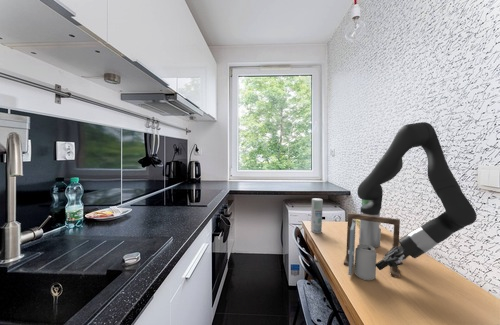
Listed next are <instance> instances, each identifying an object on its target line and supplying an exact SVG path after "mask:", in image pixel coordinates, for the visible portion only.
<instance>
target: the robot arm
mask: <svg viewBox="0 0 500 325" xmlns="http://www.w3.org/2000/svg"><path fill="white" fill-rule="evenodd" d="M417 147H421V149H423V150H424V152H425V154H426V157H427V170H426V171H427V178H428V181H429V183H430V185H431V187H432V189H433V191H434V192H435V194H436V195H437V197H438V198H439V200H440V202H441V204H442V206H443V209H444V210H445V211H443V212H442V213H441V214H440V215H438V216H436V217H435V218H432V219H431V220H429V221H427V222H425V223H423V225H421V226H419V227H417V228H415V229H414V230H412V231H410V232H408V233H406V234H405V235H404V236H403V237H400V238H399V246H398V247H395V246H393V245H392V247H391V248H390V249H389V251H387V252H386V253H385V255H384V257H383V259H381V260H380V261H378V262H376V269H378V270H379V271H382V270H384V268H385V269H386V267H389V268H390V267H394V266H398V267H399V266H402V265H403V261H405V260H406V259H407V258H408V257H411V258H413V259H417V258H418V257H420V256H422V255H424V254H425V253H427V252H429V251H430V250H432V249H434V248H435V247H436V246H437V245H438V244H440V243H443V242H444V241H445V240H447V239H448V238H449V237H451V236H452V235H453V234H455V233H456V232H458V231H460V230H462V229H464V228H466V227H467V226H470V225H472V224H474V223H475V222H476V220H477V213H476V211H475V209H474V207H473V205H472V204H471V202H470V201H469V199H468V198H467V196H466V195H465V194H464V193H463V190H462V188H461V187H460V184H459V183H458V181H457V179H456V177H455V176H454V174H453V172H452V171H451V169H450V166H449V164H448V162H447V159H446V156H445V154H444V151H443V149H442V146H441V144H440V140H439V137H438V134H437V131H436V130H435V128H434V127H433V125H432V124H430V123H429V122H425V121H424V122H423V121H422V122H414V123H409V124H408V123H407V124H405V125H403V126H401V127H400V128H399V129H398V130H397V132H396V134H395V135H394V138H393V140H392V142H391V144H390V145H389V147H388V148H387V150H386V151H385V152H384V153H383V155H382V157H381V158H380V159H379V160H378V161H377V163H376V165H375V166H374V168H373V169H372V170H371V172H369V174H368V175H367V176H366V177H365V178H364V179H363V181H361V182H360V184H358V187H357V196H358V198H360V199H361V200H362V199H363V200H370V202H369V203H368V204H366V205H363V206H362V205H361V206H360V213H359V214H363V215H371V216H378V217H381V216H380V215H381V210H382V205H383V204H382V203H383V202H382V201H383V195H384V193H383V192H384V191H383V187H382V185H383V184H385V183H387V182H389V181H391V180H393V179H394V178H395V177H396V176H397V175H398V174H399V173H400V172H401V170H402V169H403V165H404V163H403V157H404V156H405V154H407V152H409V150H411V149H413V148H417ZM360 199H359V200H360ZM359 230H360V231H359V234H358V235H359V236H358V244H366V245H370V246H372V247H374V248H375V249H376V248H378V247H381V235H382V229H381V228H380V225H379V222H372V221H365V220H360V229H359Z"/></svg>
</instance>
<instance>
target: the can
mask: <svg viewBox="0 0 500 325" xmlns="http://www.w3.org/2000/svg"><path fill="white" fill-rule="evenodd" d="M376 263H377V251H376V248H374V247H372V246H370V245H366V244H360V243H358V244H357V245H356V248H355V250H354V274H355V275H356V277H358V279H361V280H363V281H373V280H374V279H376V274H377V267H376Z"/></svg>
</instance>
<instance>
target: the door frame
mask: <svg viewBox="0 0 500 325" xmlns="http://www.w3.org/2000/svg"><path fill="white" fill-rule="evenodd" d="M353 219H358V220H365V221H372V222H379V223H381V224H387V225H393V237H392V238H393V240H392V247H393V246H395V247H398V246H400V243H399V239H400V227H401V226H400V225H401V220H400V219H399V218H392V217H386V216H385V217H384V216H380V217H378V216H371V215H363V214H360V213H355V212H347V228H346V229H347V231H346V232H347V233H346V250H345V254H346V255H345V257H344V260H343V265H344V266H348V267H349V254H348V250H349V248H350V229H351V226H352V223H353ZM389 270H390V271H389V274H390V273H391V274H390V276H391V275H392V276H391V277H395V276H396V278H399V277H400V276H401V274H400V269H399V266H394V267H390V266H389Z"/></svg>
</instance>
